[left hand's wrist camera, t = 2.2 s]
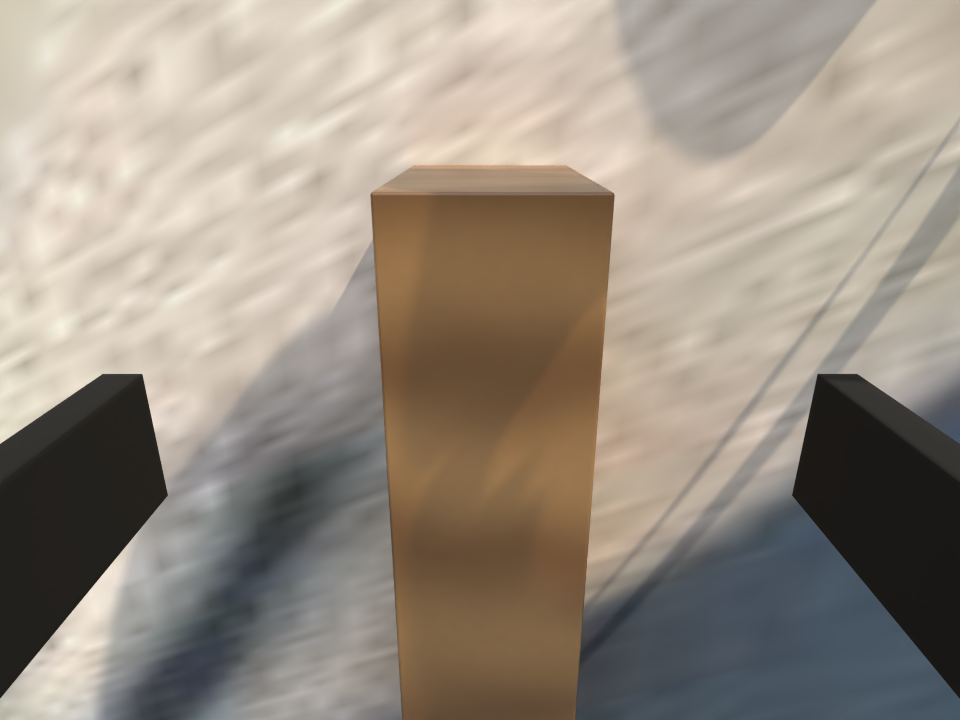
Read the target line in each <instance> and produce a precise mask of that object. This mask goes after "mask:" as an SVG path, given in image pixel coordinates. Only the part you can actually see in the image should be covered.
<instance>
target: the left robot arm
mask: <svg viewBox="0 0 960 720" xmlns="http://www.w3.org/2000/svg"><path fill="white" fill-rule="evenodd" d="M167 496H168V494H167V489H166V484H165V480H164V475H163V470H162V465H161V461H160V456H159V451H158V447H157V442H156V437H155V432H154V428H153V423H152V418H151V413H150V409H149V404H148V399H147V394H146V390H145V385H144V380H143V375H142V374H102V375H101V376H99V377H98V378H96V379H95V380H93V381H92V382H91V383H89V384H88V385H86V386H85V387H83V388H82V389H80V390H79V391H77V392H76V393H74V394H73V395H71V396H70V397H68V398H67V399H66V400H64V401H63V402H61V403H60V404H58V405H57V406H55V407H54V408H52V409H51V410H49V411H48V412H46V413H45V414H44V415H42V416H41V417H39V418H38V419H36V420H35V421H33V422H32V423H30V424H29V425H27V426H26V427H24V428H23V429H22V430H20V431H19V432H17V433H16V434H14V435H13V436H11V437H10V438H8V439H7V440H5V441H4V442H2V443H1V444H0V698H1V697H2V696H3V694H4V693H5V692H6V691H7V690H8V688H9V687H10V686H11V685H12V683H13V682H14V681H15V680H16V679H17V677H18V676H19V675H20V674H21V673H22V671H23V670H24V669H25V668H26V667H27V665H28V664H29V663H30V662H31V660H32V659H33V658H34V657H35V656H36V654H37V653H38V652H39V651H40V650H41V648H42V647H43V646H44V645H45V644H46V642H47V641H48V640H49V639H50V637H51V636H52V635H53V634H54V633H55V631H56V630H57V629H58V628H59V627H60V625H61V624H62V623H63V622H64V620H65V619H66V618H67V617H68V616H69V614H70V613H71V612H72V611H73V610H74V608H75V607H76V606H77V605H78V604H79V602H80V601H81V600H82V599H83V597H84V596H85V595H86V594H87V593H88V591H89V590H90V589H91V588H92V587H93V585H94V584H95V583H96V582H97V581H98V579H99V578H100V577H101V576H102V574H103V573H104V572H105V571H106V570H107V568H108V567H109V566H110V565H111V564H112V562H113V561H114V560H115V559H116V557H117V556H118V555H119V554H120V553H121V551H122V550H123V549H124V548H125V547H126V545H127V544H128V543H129V542H130V541H131V539H132V538H133V537H134V536H135V534H136V533H137V532H138V531H139V530H140V528H141V527H142V526H143V525H144V524H145V522H146V521H147V520H148V519H149V517H150V516H151V515H152V514H153V513H154V511H155V510H156V509H157V508H158V507H159V505H160V504H161V503H162V502H163V501H164V499H165V498H166V497H167ZM792 496H793V497H794V498H795V499H796V501H797V502H798V503H799V504H800V505H801V507H802V508H803V509H804V510H805V511H806V513H807V514H808V515H809V516H810V518H811V519H812V520H813V521H814V522H815V524H816V525H817V526H818V527H819V528H820V530H821V531H822V532H823V533H824V534H825V536H826V537H827V538H828V539H829V541H830V542H831V543H832V544H833V545H834V547H835V548H836V549H837V550H838V551H839V553H840V554H841V555H842V556H843V557H844V559H845V560H846V561H847V562H848V564H849V565H850V566H851V567H852V568H853V570H854V571H855V572H856V573H857V574H858V576H859V577H860V578H861V579H862V581H863V582H864V583H865V584H866V585H867V587H868V588H869V589H870V590H871V591H872V593H873V594H874V595H875V596H876V597H877V599H878V600H879V601H880V602H881V604H882V605H883V606H884V607H885V608H886V610H887V611H888V612H889V613H890V614H891V616H892V617H893V618H894V619H895V620H896V622H897V623H898V624H899V625H900V627H901V628H902V629H903V630H904V631H905V633H906V634H907V635H908V636H909V637H910V639H911V640H912V641H913V642H914V644H915V645H916V646H917V647H918V648H919V650H920V651H921V652H922V653H923V654H924V656H925V657H926V658H927V659H928V660H929V662H930V663H931V664H932V665H933V667H934V668H935V669H936V670H937V671H938V673H939V674H940V675H941V676H942V677H943V679H944V680H945V681H946V682H947V683H948V685H949V686H950V687H951V688H952V690H953V691H954V692H955V693H956V694H957V696H958V697H959V698H960V444H959V443H958V442H956V441H955V440H953V439H952V438H950V437H949V436H947V435H946V434H944V433H943V432H941V431H940V430H938V429H937V428H936V427H934V426H933V425H931V424H930V423H928V422H927V421H925V420H924V419H922V418H921V417H919V416H918V415H916V414H915V413H914V412H912V411H911V410H909V409H908V408H906V407H905V406H903V405H902V404H900V403H899V402H897V401H896V400H894V399H893V398H892V397H890V396H889V395H887V394H886V393H884V392H883V391H881V390H880V389H878V388H877V387H875V386H874V385H872V384H871V383H869V382H868V381H867V380H865V379H864V378H862V377H861V376H859V375H858V374H818V375H817V380H816V385H815V390H814V394H813V399H812V404H811V409H810V413H809V418H808V423H807V428H806V432H805V437H804V442H803V447H802V451H801V456H800V461H799V465H798V470H797V475H796V480H795V484H794V489H793V494H792Z"/></svg>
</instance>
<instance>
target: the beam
mask: <svg viewBox="0 0 960 720" xmlns="http://www.w3.org/2000/svg"><path fill="white" fill-rule="evenodd" d="M613 209H614V193H613V192H611V191H609V190H607V189H606V188H604V187H602V186H601V185H599V184H597V183H595V182H594V181H592V180H590V179H589V178H587V177H585V176H583V175H582V174H580V173H578V172H576V171H575V170H573V169H571V168H570V167H568V166H501V165H415V166H413V167H411V168H409V169H408V170H406V171H405V172H403V173H402V174H400V175H398V176H397V177H395V178H394V179H392V180H391V181H389V182H388V183H386V184H384V185H383V186H381V187H380V188H378V189H377V190H375V191H373V192H372V193H371V211H372V227H373V244H374V260H375V277H376V293H377V310H378V326H379V343H380V359H381V376H382V392H383V408H384V425H385V441H386V458H387V474H388V491H389V507H390V524H391V540H392V557H393V573H394V590H395V606H396V623H397V639H398V656H399V672H400V689H401V705H402V720H575V714H576V701H577V687H578V674H579V661H580V647H581V634H582V621H583V608H584V594H585V581H586V568H587V554H588V541H589V528H590V515H591V501H592V488H593V475H594V461H595V448H596V435H597V422H598V408H599V395H600V382H601V368H602V355H603V342H604V329H605V315H606V302H607V289H608V275H609V262H610V249H611V236H612V222H613Z"/></svg>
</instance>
